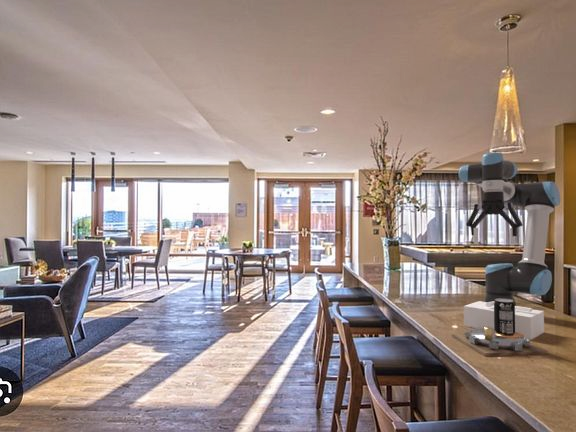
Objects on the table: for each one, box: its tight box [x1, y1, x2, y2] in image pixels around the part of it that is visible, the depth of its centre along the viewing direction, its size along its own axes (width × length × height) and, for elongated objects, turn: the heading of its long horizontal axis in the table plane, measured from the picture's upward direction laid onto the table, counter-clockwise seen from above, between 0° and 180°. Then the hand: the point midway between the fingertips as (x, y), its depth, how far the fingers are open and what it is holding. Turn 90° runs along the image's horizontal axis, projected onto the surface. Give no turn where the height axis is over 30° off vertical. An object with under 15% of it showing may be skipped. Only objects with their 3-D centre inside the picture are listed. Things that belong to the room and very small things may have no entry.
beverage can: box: [494, 298, 515, 335], centre depth 137 cm, size 7×7×12 cm
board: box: [451, 333, 549, 357], centre depth 135 cm, size 22×21×1 cm
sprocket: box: [464, 327, 531, 351], centre depth 135 cm, size 20×20×6 cm
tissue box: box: [463, 300, 545, 341], centre depth 155 cm, size 14×25×11 cm, turn 40°
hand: (493, 244), depth 153 cm, fingers open, 13 cm apart
